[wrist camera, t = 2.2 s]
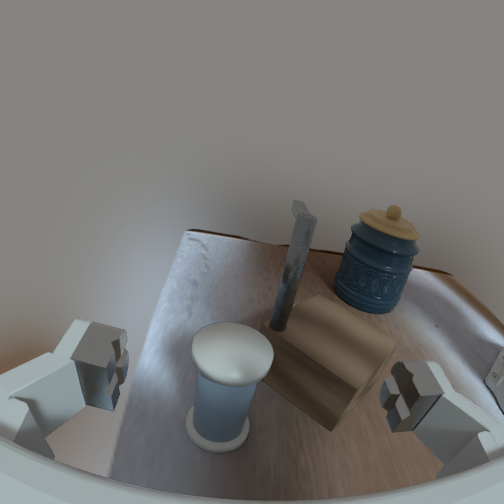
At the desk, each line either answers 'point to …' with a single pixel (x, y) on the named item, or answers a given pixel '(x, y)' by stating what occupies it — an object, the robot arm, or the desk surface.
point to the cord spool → (225, 383)
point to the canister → (377, 260)
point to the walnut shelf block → (326, 359)
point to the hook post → (293, 266)
